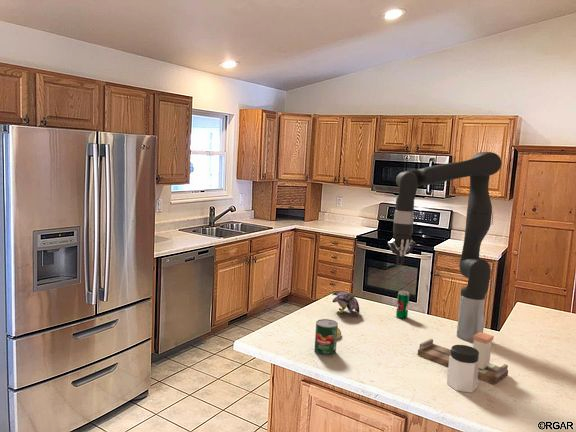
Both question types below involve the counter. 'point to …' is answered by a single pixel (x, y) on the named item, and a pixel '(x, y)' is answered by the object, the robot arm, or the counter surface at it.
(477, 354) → the jar
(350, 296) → the bird figurine
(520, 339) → the counter surface
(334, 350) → the canned tomato
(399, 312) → the soda can
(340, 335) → the bread roll
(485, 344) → the fader knob
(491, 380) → the fader console
